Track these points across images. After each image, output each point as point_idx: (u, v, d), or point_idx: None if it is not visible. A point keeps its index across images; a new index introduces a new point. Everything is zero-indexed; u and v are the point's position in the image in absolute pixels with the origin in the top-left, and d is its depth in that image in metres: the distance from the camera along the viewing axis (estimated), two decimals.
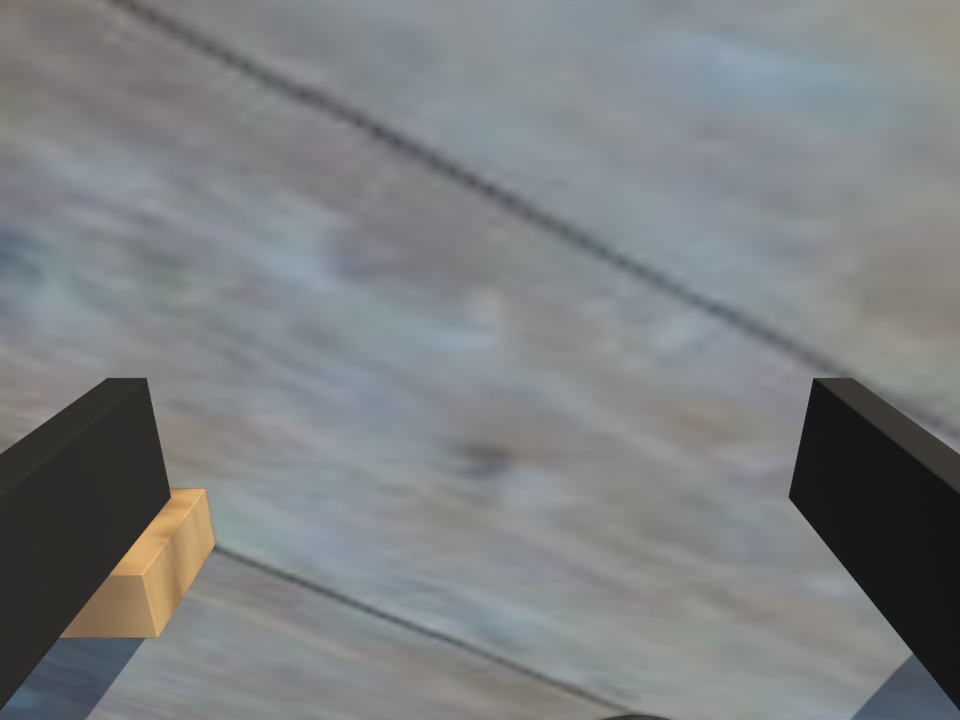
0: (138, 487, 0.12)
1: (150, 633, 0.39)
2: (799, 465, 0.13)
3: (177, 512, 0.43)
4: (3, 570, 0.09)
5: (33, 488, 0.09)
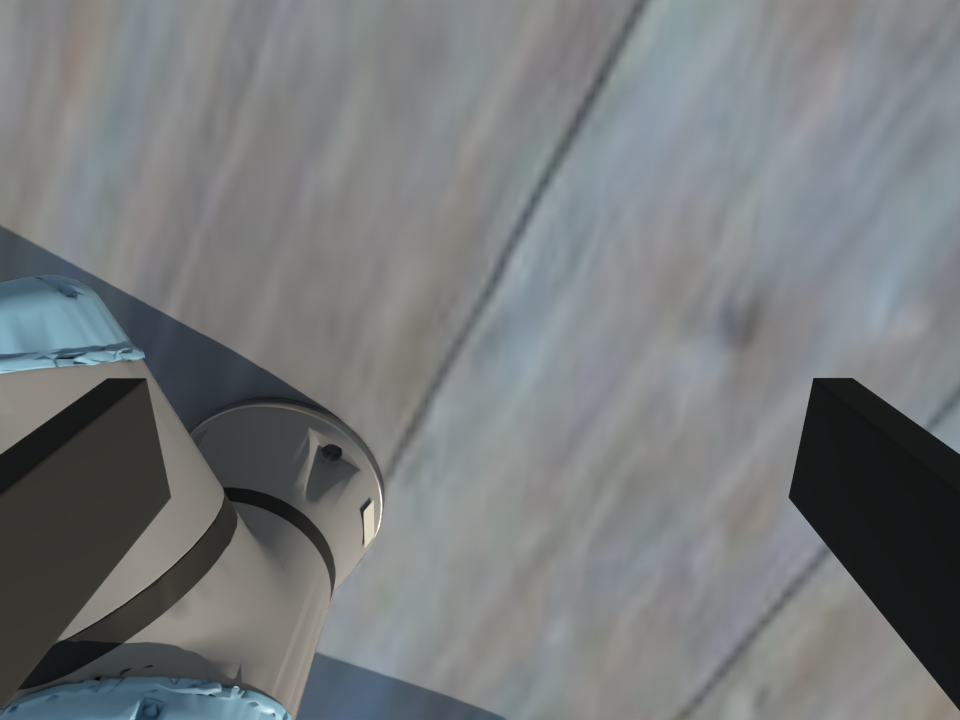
0: (138, 487, 0.12)
1: None
2: (799, 465, 0.13)
3: None
4: (3, 570, 0.09)
5: (33, 488, 0.09)
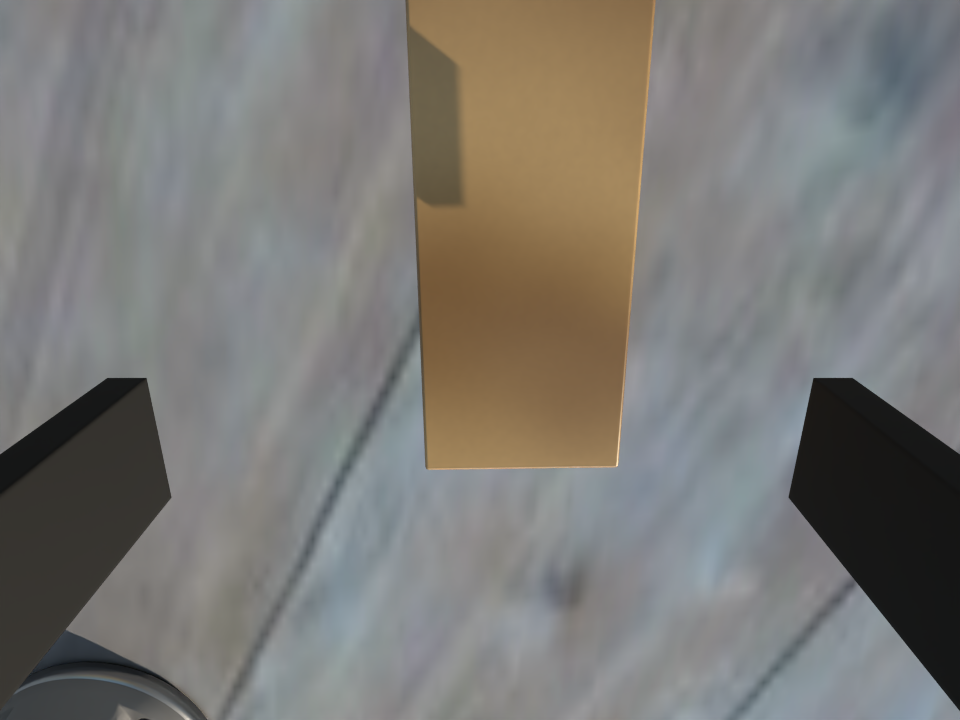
0: (138, 487, 0.12)
1: (441, 457, 0.16)
2: (799, 465, 0.13)
3: None
4: (3, 570, 0.09)
5: (33, 488, 0.09)
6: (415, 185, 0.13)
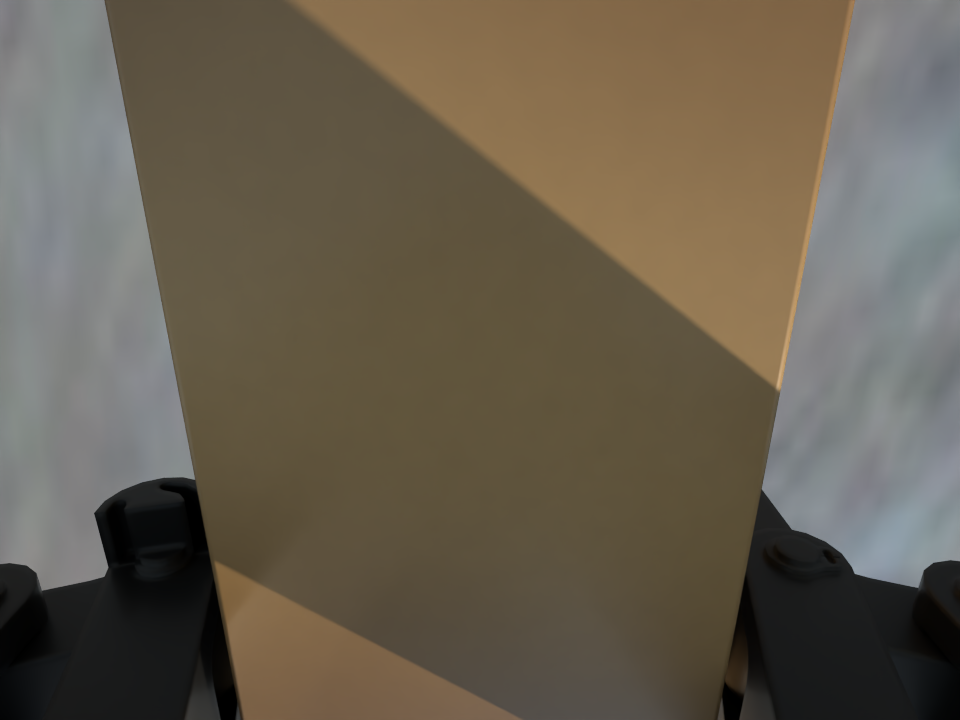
0: None
1: None
2: None
3: None
4: None
5: None
6: (203, 510, 0.05)
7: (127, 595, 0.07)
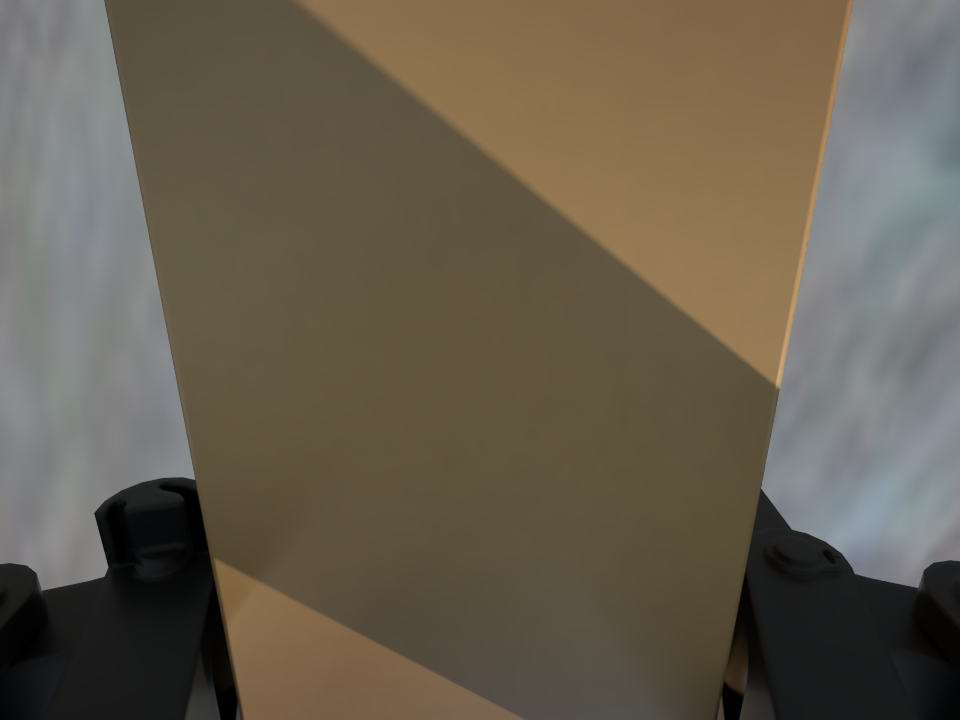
0: None
1: None
2: None
3: None
4: None
5: None
6: (204, 510, 0.06)
7: (127, 595, 0.07)
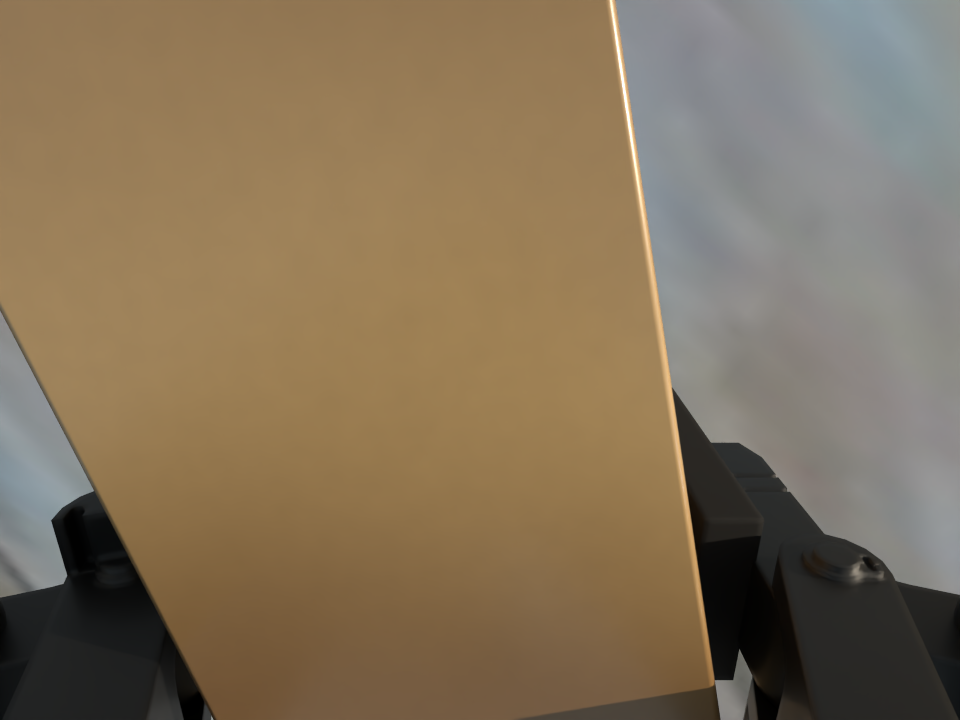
0: None
1: None
2: None
3: None
4: None
5: None
6: (105, 507, 0.05)
7: (87, 602, 0.07)
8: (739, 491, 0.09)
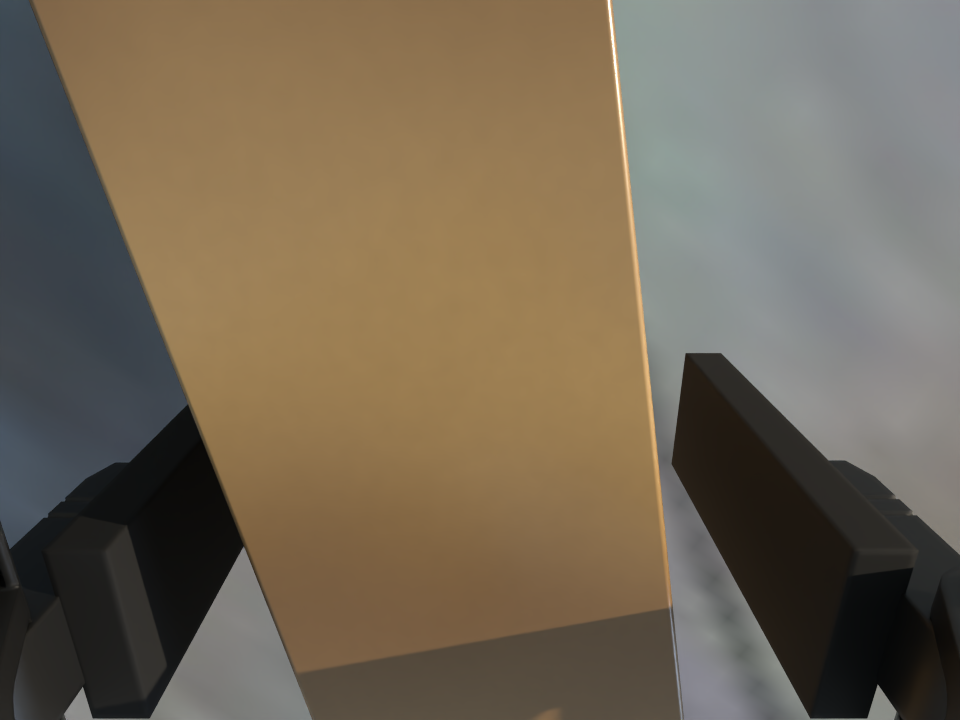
0: None
1: None
2: (678, 434, 0.14)
3: None
4: (197, 511, 0.10)
5: None
6: (206, 444, 0.07)
7: None
8: (881, 518, 0.08)
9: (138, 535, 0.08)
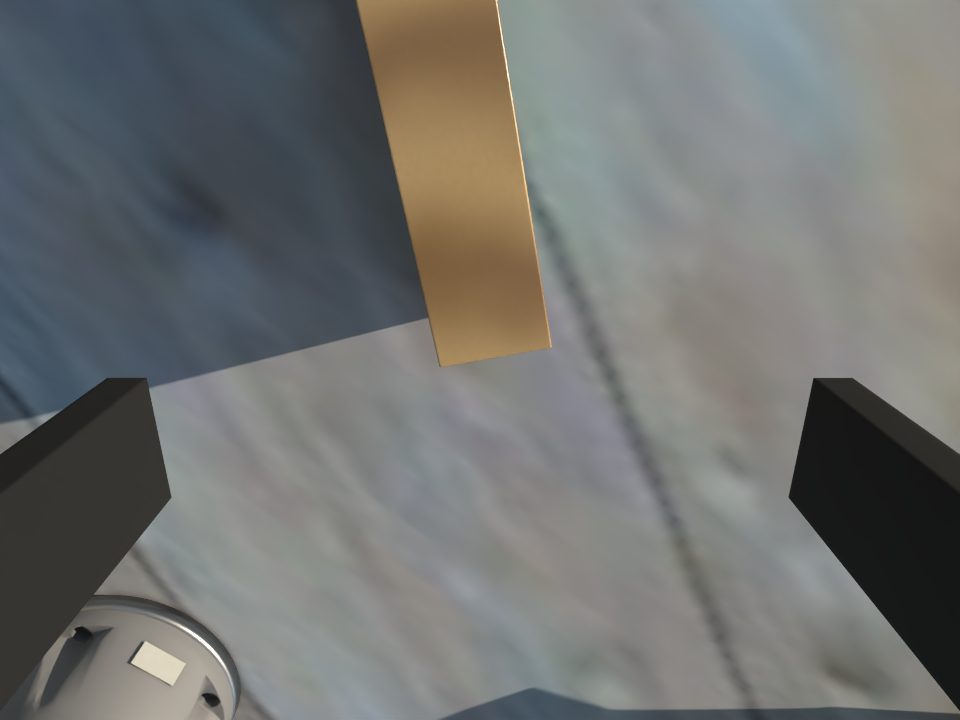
0: (138, 487, 0.12)
1: (447, 358, 0.27)
2: (799, 465, 0.13)
3: None
4: (3, 570, 0.09)
5: (33, 488, 0.09)
6: (403, 205, 0.25)
7: None
8: None
9: None
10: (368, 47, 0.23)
